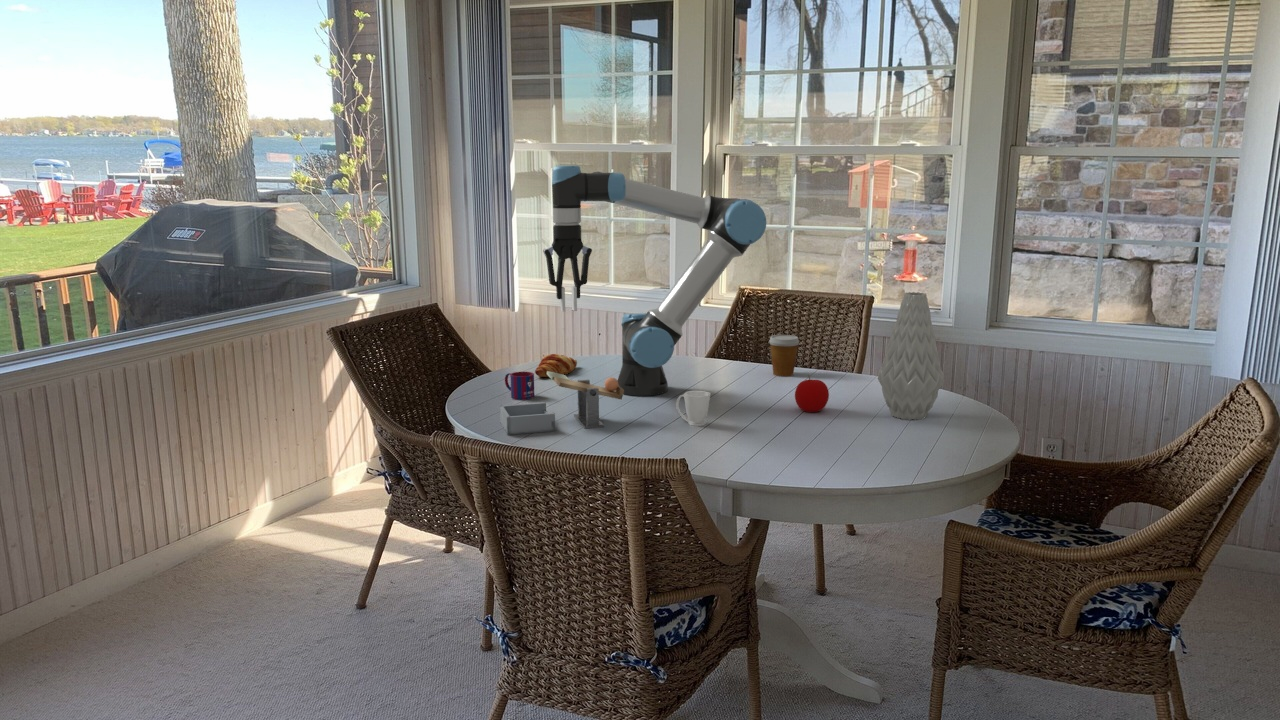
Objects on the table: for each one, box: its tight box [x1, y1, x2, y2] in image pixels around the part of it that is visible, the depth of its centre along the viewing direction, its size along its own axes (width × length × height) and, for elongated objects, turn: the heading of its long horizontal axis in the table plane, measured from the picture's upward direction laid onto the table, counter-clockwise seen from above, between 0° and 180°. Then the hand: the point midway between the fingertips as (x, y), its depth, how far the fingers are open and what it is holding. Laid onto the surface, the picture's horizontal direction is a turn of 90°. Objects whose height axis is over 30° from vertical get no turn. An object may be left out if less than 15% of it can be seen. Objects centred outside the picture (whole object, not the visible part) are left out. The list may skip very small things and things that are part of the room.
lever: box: [547, 371, 624, 400], centre depth 250 cm, size 18×14×3 cm
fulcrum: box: [573, 379, 605, 429], centre depth 248 cm, size 5×12×10 cm, turn 17°
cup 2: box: [675, 390, 712, 427], centre depth 247 cm, size 7×10×8 cm
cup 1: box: [504, 371, 535, 401], centre depth 275 cm, size 7×10×7 cm
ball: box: [604, 376, 618, 391], centre depth 249 cm, size 4×4×4 cm
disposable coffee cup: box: [768, 334, 800, 377], centre depth 302 cm, size 10×10×12 cm
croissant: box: [534, 353, 578, 378], centre depth 305 cm, size 21×10×8 cm, turn 150°
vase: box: [877, 291, 945, 420], centre depth 250 cm, size 17×17×33 cm
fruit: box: [794, 374, 830, 413], centre depth 258 cm, size 9×9×10 cm
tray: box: [499, 401, 556, 436], centre depth 244 cm, size 12×12×4 cm
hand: (568, 310), depth 261 cm, fingers open, 3 cm apart
